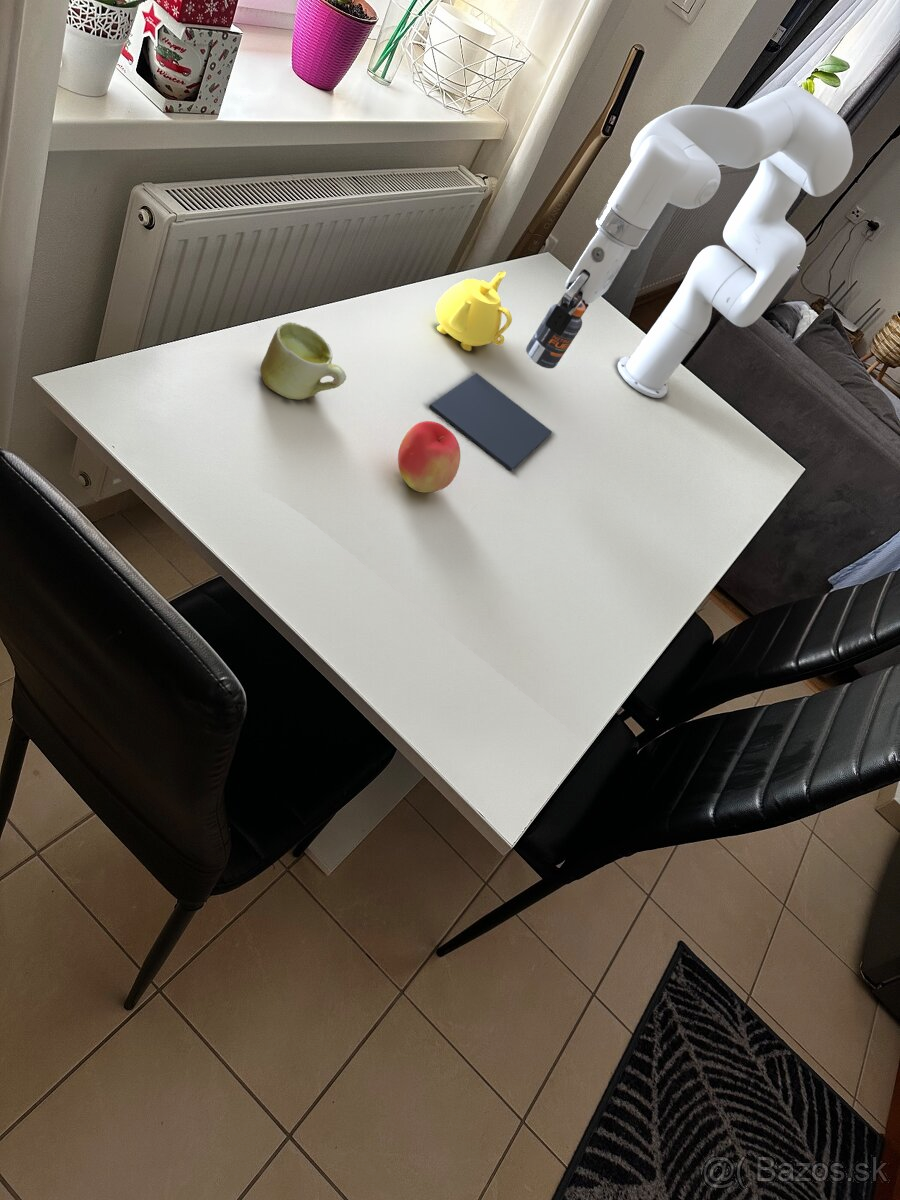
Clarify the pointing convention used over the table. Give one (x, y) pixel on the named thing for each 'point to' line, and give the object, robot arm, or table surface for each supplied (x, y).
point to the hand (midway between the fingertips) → (561, 324)
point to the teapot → (473, 312)
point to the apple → (428, 457)
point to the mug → (299, 363)
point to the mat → (491, 420)
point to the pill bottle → (553, 339)
